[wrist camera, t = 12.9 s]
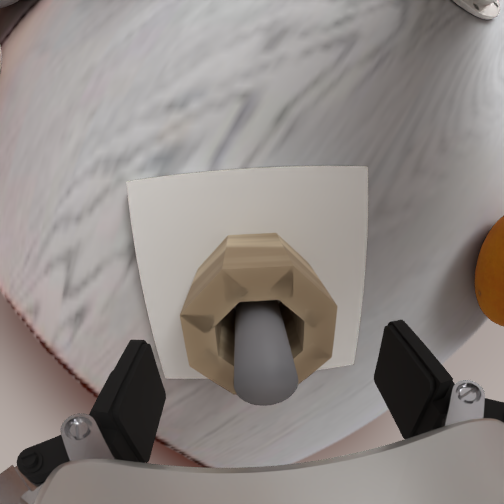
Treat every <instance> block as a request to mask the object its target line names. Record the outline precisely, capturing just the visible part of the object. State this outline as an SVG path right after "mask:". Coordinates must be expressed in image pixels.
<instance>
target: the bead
mask: <svg viewBox="0 0 504 504" xmlns="http://www.w3.org/2000/svg"><path fill="white" fill-rule="evenodd" d="M266 300H280V301H281V302H280V303H279V307H280V311H281V315H282V318H283V322H284V326H285V330H286V333H287V337H288V341H289V345H290V348H291V352H292V356H293V360H294V364H295V368H296V371H297V375H298V384H299V383H301V382H302V381H303V380H305V379H306V378H307V377H308V376H310V375H311V374H312V373H313V372H315V371H316V370H317V369H318V368H319V367H321V366H322V365H323V364H324V363H325V362H327V361H328V360H329V359H330V358H331V357H332V351H333V343H334V335H335V326H336V317H337V305H336V303H335V302H334V300H333V299H332V297H331V295H330V294H329V292H328V291H327V289H326V288H325V286H324V285H323V283H322V282H321V280H320V279H319V277H318V276H317V274H316V273H315V272H314V270H313V269H312V267H311V266H310V264H309V263H308V262H307V261H306V260H305V259H304V258H303V257H302V256H301V255H300V254H299V253H297V252H296V251H295V250H294V249H293V248H292V247H291V246H290V245H289V244H288V243H287V242H286V241H285V240H283V239H282V238H281V237H280V236H279V235H278V234H277V233H262V234H241V235H228V236H227V237H226V238H225V239H224V240H223V241H222V242H221V244H220V245H219V246H218V247H217V248H216V249H215V250H214V251H213V252H212V254H211V255H210V256H209V257H208V258H207V259H206V260H205V261H204V262H203V264H202V265H201V266H200V267H199V268H198V270H197V272H196V274H195V277H194V279H193V282H192V285H191V287H190V290H189V292H188V295H187V297H186V300H185V302H184V305H183V308H182V310H181V313H180V320H181V326H182V331H183V337H184V342H185V348H186V353H187V358H188V363H189V366H190V367H191V368H193V369H194V370H196V371H197V372H199V373H201V374H202V375H204V376H205V377H207V378H208V379H210V380H211V381H213V382H215V383H216V384H218V385H219V386H221V387H223V388H224V389H226V390H228V391H229V392H231V393H233V394H237V393H236V392H235V389H234V350H235V312H236V309H234V307H235V306H236V305H237V304H238V303H239V302H248V301H266Z"/></svg>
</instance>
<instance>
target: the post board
mask: <svg viewBox="0 0 504 504" xmlns="http://www.w3.org/2000/svg"><path fill="white" fill-rule="evenodd" d="M126 184H127V194H128V203H129V211H130V219H131V226H132V233H133V239H134V246H135V252H136V258H137V263H138V269H139V274H140V279H141V284H142V289H143V294H144V299H145V303H146V308H147V312H148V316H149V321H150V325H151V329H152V333H153V337H154V341H155V344H156V348H157V352H158V355H159V359H160V362H161V366H162V369H163V373H164V376H165V379H208V378H207V377H205V376H204V375H202V374H201V373H199V372H197V371H196V370H194V369H193V368H191V367H190V366H189V363H188V358H187V353H186V348H185V342H184V337H183V331H182V326H181V320H180V313H181V310H182V308H183V305H184V302H185V300H186V297H187V295H188V292H189V290H190V287H191V285H192V282H193V279H194V277H195V274H196V272H197V270H198V268H199V267H200V266H201V265H202V264H203V262H204V261H205V260H206V259H207V258H208V257H209V256H210V255H211V254H212V252H213V251H214V250H215V249H216V248H217V247H218V246H219V245H220V244H221V242H222V241H223V240H224V239H225V238H226V237H227V236H228V235H241V234H262V233H277V234H278V235H279V236H280V237H281V238H282V239H283V240H285V241H286V242H287V243H288V244H289V245H290V246H291V247H292V248H293V249H294V250H295V251H296V252H297V253H299V254H300V255H301V256H302V257H303V258H304V259H305V260H306V261H307V262H308V263H309V264H310V266H311V267H312V269H313V270H314V272H315V273H316V274H317V276H318V277H319V279H320V280H321V282H322V283H323V285H324V286H325V288H326V289H327V291H328V292H329V294H330V295H331V297H332V299H333V300H334V302H335V303H336V305H337V317H336V326H335V335H334V343H333V351H332V357H331V358H330V359H329V360H328V361H327V362H325V363H324V364H323V365H322V366H321V367H319V368H318V369H317V370H323V369H330V368H336V367H342V366H348V365H354V360H355V354H356V347H357V341H358V334H359V326H360V318H361V310H362V301H363V291H364V280H365V267H366V252H367V230H368V166H286V167H262V168H244V169H230V170H217V171H206V172H195V173H186V174H177V175H168V176H160V177H152V178H145V179H138V180H131V181H126ZM280 302H281V301H280V300H266V301H248V302H239V303H238V304H237V305H236V306H235V307H234V309H236V312H235V350H234V389H235V392H236V393H237V395H238V396H239V397H240V398H241V399H243V400H244V401H246V402H248V403H251V404H254V405H273V404H277V403H280V402H282V401H284V400H286V399H287V398H289V397H290V396H291V395H292V394H293V393H294V392H295V390H296V388H297V386H298V375H297V371H296V368H295V364H294V360H293V356H292V352H291V348H290V345H289V341H288V337H287V333H286V330H285V326H284V322H283V318H282V315H281V311H280V307H279V303H280Z"/></svg>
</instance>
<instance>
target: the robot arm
mask: <svg viewBox="0 0 504 504" xmlns="http://www.w3.org/2000/svg"><path fill="white" fill-rule="evenodd" d="M453 1H454V2H455V3H456V4H458V5H459V6H460V7H462V8H463V9H465V10H466V11H468V12H469V13H471V14H473V15H475V16H477V17H479V18H482V19H487V20H488V19H492V18H494V17H497V16H498V14H499V12H500V5H499V0H453ZM452 380H453V378H452V377H451V376H450V374H449V373H448V372H447V371H446V369H445V368H444V367H443V366H442V365H441V363H440V362H439V361H438V360H437V359H436V357H435V356H434V355H433V354H432V353H431V351H430V350H429V349H428V348H427V347H426V346H425V344H424V343H423V342H422V341H421V340H420V339H419V337H418V336H417V335H416V334H415V333H414V332H413V331H412V330H411V328H410V327H409V326H408V325H407V324H406V323H405V322H404V321H403V320H398V321H392V322H389V323H388V326H385V328H384V333H383V338H382V343H381V348H380V352H379V357H378V361H377V365H376V370H375V374H374V381H375V384H376V386H377V387H378V389H379V391H380V393H381V395H382V397H383V399H384V401H385V403H386V405H387V407H388V409H389V410H390V412H391V414H392V416H393V418H394V420H395V422H396V424H397V426H398V428H399V430H400V432H401V434H402V436H403V438H404V439H405V440H402V441H399V442H395V443H392V444H389V445H385V446H382V447H378V448H375V449H371V450H367V451H363V452H359V453H354V454H349V455H345V456H340V457H335V458H329V459H324V460H318V461H311V462H304V463H296V464H288V465H278V466H265V467H247V468H200V467H182V466H169V465H158V464H149V463H147V462H148V461H149V459H150V455H151V451H152V447H153V443H154V440H155V436H156V432H157V428H158V425H159V421H160V417H161V414H162V410H163V406H164V403H165V399H166V394H165V390H164V387H163V384H162V381H161V378H160V375H159V371H158V368H157V365H156V362H155V358H154V355H153V352H152V348H151V345H150V344H147V343H146V341H145V340H130V342H129V343H128V345H127V347H126V349H125V351H124V352H123V354H122V356H121V358H120V360H119V361H118V363H117V365H116V367H115V369H114V371H112V372H111V374H110V375H109V377H108V379H107V381H106V383H105V385H104V387H103V389H102V390H101V392H100V394H99V396H98V398H97V400H96V402H95V404H94V406H93V408H92V410H91V412H90V414H89V415H87V414H80V413H79V414H74V415H72V416H70V417H68V418H67V419H66V420H65V421H64V422H63V424H62V426H61V435H59V436H57V437H55V438H52V439H50V440H47V441H45V442H42V443H40V444H37V445H35V446H32V447H29V448H27V449H25V450H23V451H22V452H21V453H20V455H19V456H18V459H17V466H16V467H14V466H13V465H12V466H10V467H9V468H8V469H6V470H5V471H3V472H2V473H1V474H0V504H504V402H499V401H495V400H490V399H486V398H485V393H484V390H483V388H482V387H481V386H480V385H479V384H477V383H476V382H473V381H470V380H463V381H459V382H458V383H456V384H454V382H453V381H452Z"/></svg>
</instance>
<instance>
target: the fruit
mask: <svg viewBox="0 0 504 504" xmlns="http://www.w3.org/2000/svg"><path fill="white" fill-rule="evenodd" d="M475 293H476V297H477V301H478V304H479V306H480V308H481V310H482V311H483V313H484V314H485V315H486V316H487V317H488V318H489V319H490V320H491V321H493V322H495V323H496V324H499V325H501V326H504V216H503V217H501V218H500V219H499V220H498V221H497V222H496V223H495V225H494V226H493V227H492V229H491V230H490V231H489V233H488V235H487V237H486V239H485V240H484V242H483V244H482V247H481V250H480V253H479V256H478V260H477V265H476V270H475Z"/></svg>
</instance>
